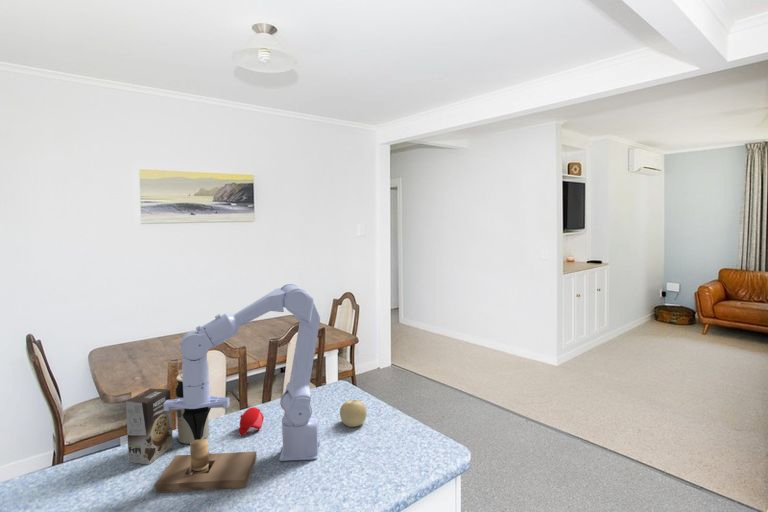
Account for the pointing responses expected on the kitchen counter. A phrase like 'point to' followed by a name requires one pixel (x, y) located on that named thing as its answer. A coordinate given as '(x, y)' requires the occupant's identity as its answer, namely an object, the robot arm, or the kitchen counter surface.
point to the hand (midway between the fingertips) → (198, 437)
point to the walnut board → (222, 475)
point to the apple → (353, 413)
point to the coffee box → (148, 426)
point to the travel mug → (183, 427)
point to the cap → (250, 420)
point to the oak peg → (199, 456)
